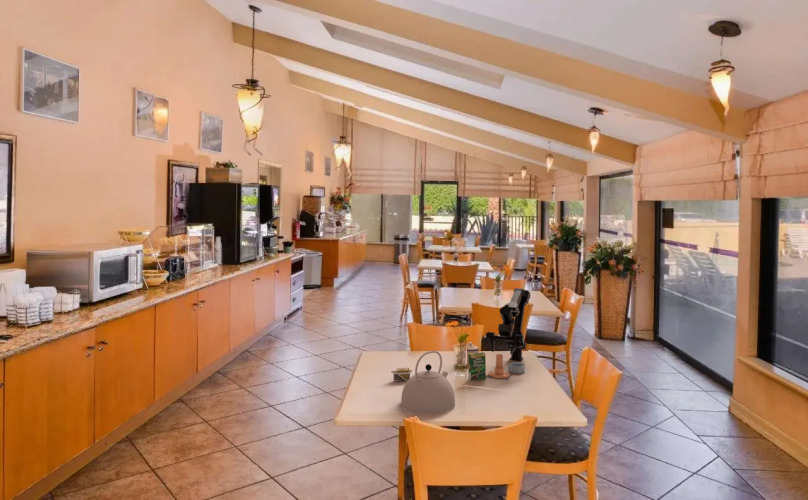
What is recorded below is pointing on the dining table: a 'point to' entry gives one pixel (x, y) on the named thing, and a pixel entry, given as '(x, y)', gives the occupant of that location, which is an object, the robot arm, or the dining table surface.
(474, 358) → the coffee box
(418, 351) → the dining table surface
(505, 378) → the mat
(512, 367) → the bowl
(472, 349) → the teacup with lid
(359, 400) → the dining table surface
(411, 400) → the kettle
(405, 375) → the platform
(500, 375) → the wooden peg stand
